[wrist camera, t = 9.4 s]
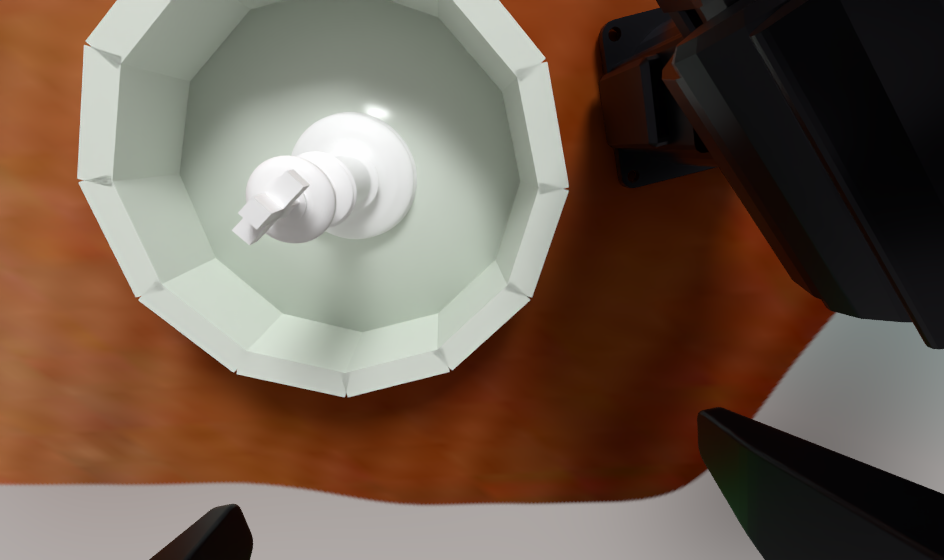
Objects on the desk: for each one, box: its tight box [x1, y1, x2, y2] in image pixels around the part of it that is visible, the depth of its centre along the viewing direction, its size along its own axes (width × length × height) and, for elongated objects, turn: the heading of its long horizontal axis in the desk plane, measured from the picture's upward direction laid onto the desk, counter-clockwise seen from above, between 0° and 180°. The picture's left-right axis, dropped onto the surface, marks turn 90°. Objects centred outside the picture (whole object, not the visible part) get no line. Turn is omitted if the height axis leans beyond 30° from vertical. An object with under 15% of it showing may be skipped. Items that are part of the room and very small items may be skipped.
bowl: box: [77, 0, 569, 397], centre depth 16 cm, size 15×15×4 cm
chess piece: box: [232, 112, 417, 245], centre depth 13 cm, size 5×5×10 cm
